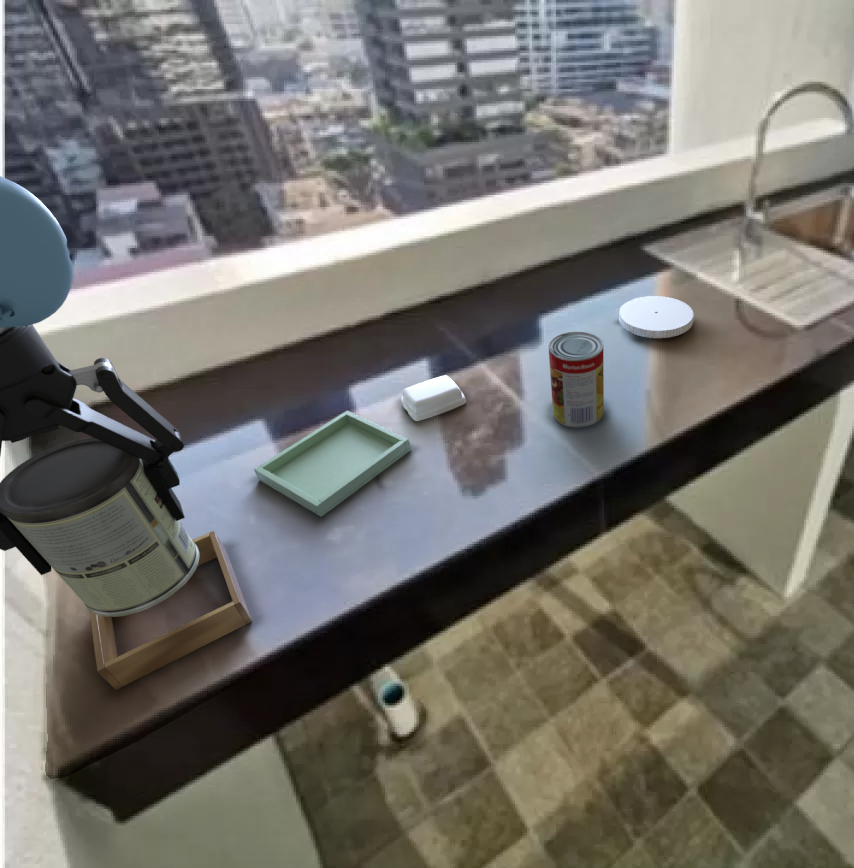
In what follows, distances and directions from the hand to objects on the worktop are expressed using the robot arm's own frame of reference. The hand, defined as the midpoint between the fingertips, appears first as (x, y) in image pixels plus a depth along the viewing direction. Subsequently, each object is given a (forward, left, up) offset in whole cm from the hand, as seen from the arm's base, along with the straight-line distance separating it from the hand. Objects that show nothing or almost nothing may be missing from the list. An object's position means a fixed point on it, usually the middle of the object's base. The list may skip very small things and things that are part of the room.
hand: (115, 536), depth 58 cm
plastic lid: (+85, -14, -13) cm, 87 cm away
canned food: (+54, -17, -13) cm, 58 cm away
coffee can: (0, 0, -6) cm, 6 cm away
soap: (+44, +4, -13) cm, 46 cm away
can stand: (0, 0, -13) cm, 13 cm away
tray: (+26, +5, -13) cm, 29 cm away
